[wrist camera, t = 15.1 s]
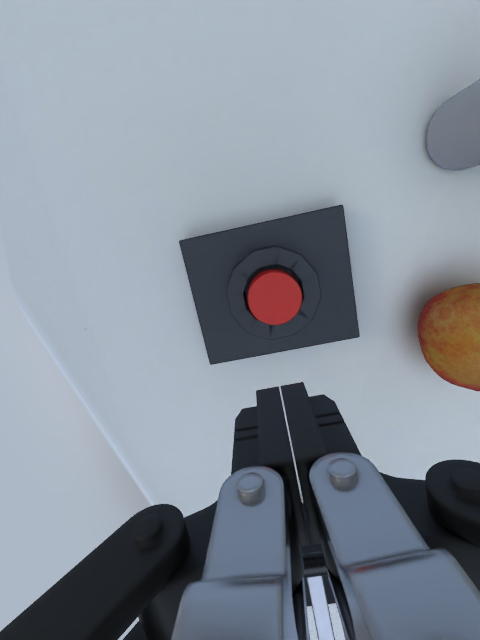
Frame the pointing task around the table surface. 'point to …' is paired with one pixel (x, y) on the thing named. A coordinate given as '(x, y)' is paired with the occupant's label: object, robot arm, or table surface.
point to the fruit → (453, 335)
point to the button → (274, 297)
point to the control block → (273, 253)
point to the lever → (318, 593)
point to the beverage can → (456, 131)
